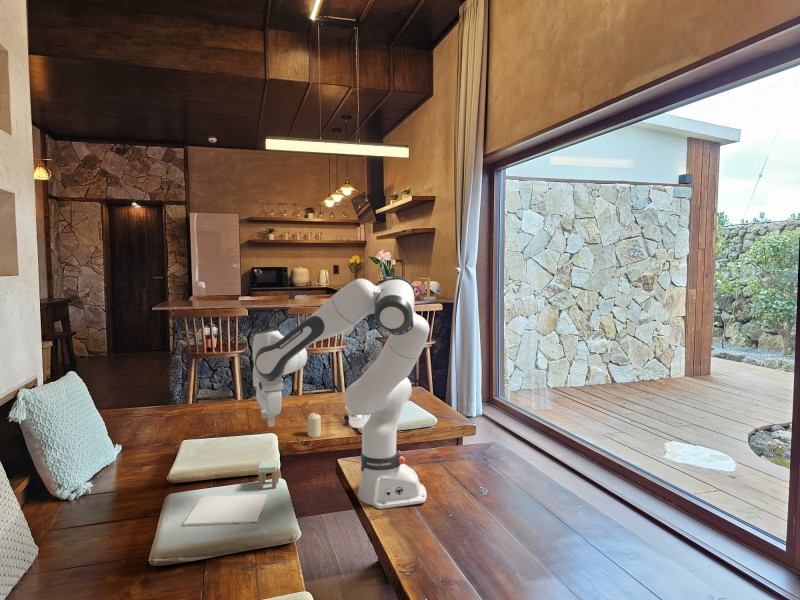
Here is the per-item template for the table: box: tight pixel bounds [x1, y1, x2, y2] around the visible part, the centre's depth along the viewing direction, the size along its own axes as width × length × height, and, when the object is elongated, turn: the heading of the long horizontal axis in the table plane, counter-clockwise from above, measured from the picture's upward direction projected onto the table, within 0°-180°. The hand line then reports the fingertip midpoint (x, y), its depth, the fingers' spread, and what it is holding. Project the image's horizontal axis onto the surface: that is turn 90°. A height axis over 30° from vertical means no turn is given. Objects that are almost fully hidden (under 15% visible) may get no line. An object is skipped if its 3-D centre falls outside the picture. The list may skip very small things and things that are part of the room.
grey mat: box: [182, 493, 269, 527], centre depth 143 cm, size 20×16×1 cm
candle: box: [307, 412, 322, 438], centre depth 205 cm, size 6×6×10 cm
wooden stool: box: [257, 460, 279, 489], centre depth 160 cm, size 6×6×7 cm
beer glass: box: [348, 413, 365, 429], centre depth 220 cm, size 7×7×15 cm
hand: (267, 421), depth 159 cm, fingers open, 8 cm apart
